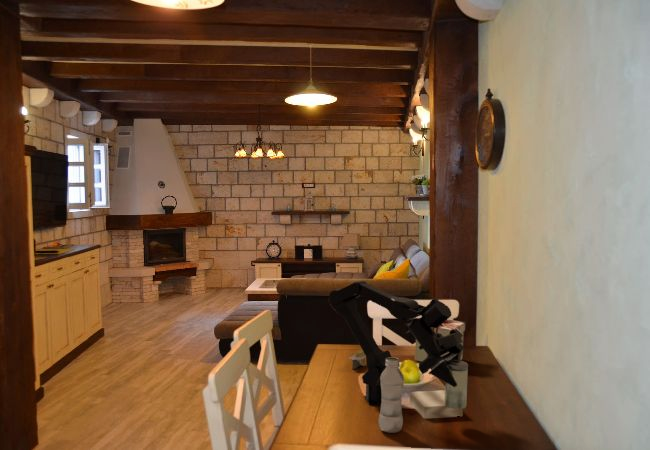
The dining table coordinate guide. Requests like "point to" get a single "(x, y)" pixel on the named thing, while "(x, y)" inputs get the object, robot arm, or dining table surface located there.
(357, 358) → the open flap box
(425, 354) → the gift box
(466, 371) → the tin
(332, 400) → the dining table surface
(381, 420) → the plastic bottle
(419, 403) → the base block
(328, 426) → the dining table surface
